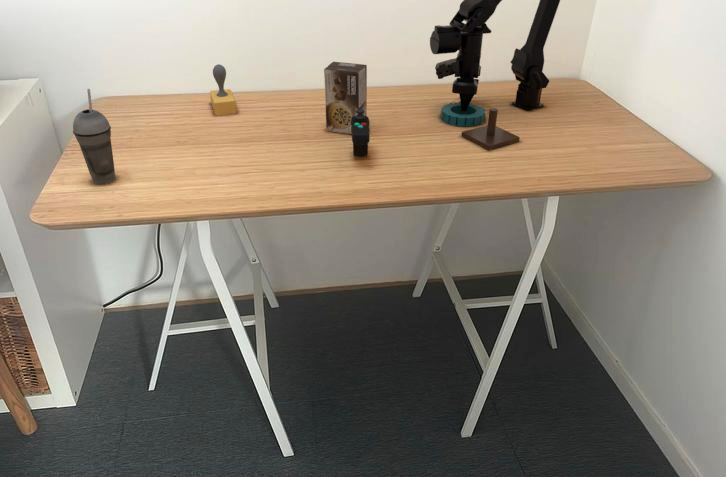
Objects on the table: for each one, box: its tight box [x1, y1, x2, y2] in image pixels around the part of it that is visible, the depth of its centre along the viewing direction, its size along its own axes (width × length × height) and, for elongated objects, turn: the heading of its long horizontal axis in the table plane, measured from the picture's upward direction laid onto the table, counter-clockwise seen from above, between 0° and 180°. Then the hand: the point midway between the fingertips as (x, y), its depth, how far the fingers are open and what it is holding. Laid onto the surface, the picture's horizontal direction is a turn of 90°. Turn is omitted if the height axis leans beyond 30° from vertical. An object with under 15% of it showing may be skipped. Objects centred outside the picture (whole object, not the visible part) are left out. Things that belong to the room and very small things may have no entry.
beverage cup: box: [72, 88, 116, 186], centre depth 127 cm, size 7×7×20 cm
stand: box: [460, 107, 521, 151], centre depth 151 cm, size 10×10×8 cm
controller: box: [350, 109, 371, 158], centre depth 141 cm, size 4×12×10 cm, turn 1°
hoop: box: [440, 101, 486, 128], centre depth 163 cm, size 11×11×2 cm
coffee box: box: [323, 61, 368, 135], centre depth 153 cm, size 9×6×16 cm
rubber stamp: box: [209, 63, 238, 116], centre depth 166 cm, size 10×6×12 cm, turn 18°
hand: (464, 109), depth 167 cm, fingers closed on hoop, 2 cm apart
